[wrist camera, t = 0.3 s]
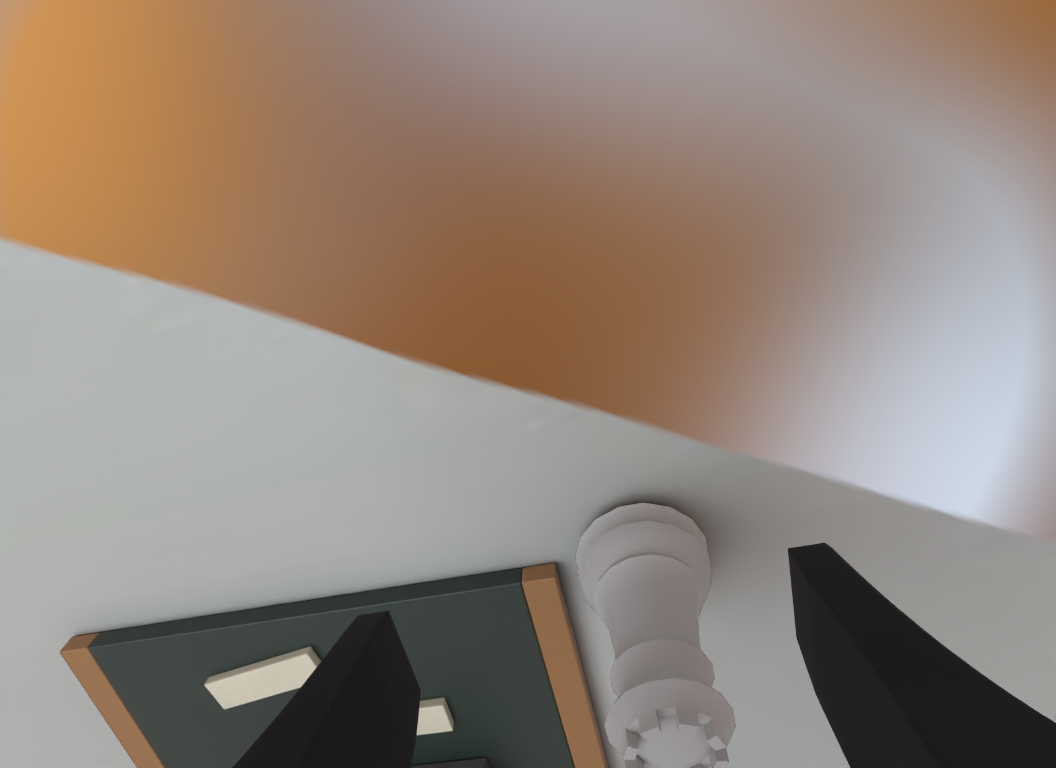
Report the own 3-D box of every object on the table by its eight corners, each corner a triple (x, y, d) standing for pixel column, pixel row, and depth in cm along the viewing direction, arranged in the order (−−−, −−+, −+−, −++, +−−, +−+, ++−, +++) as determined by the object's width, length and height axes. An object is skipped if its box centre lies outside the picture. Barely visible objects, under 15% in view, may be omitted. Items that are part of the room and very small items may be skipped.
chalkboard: (617, 801, 30) (619, 820, 29) (208, 845, 32) (200, 863, 31) (555, 562, 24) (555, 577, 24) (71, 636, 27) (58, 652, 26)
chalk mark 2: (444, 696, 26) (443, 705, 26) (454, 722, 27) (453, 731, 26) (332, 711, 27) (329, 720, 26) (344, 736, 27) (341, 745, 27)
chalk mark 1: (310, 645, 25) (307, 654, 25) (329, 671, 26) (326, 680, 26) (208, 676, 26) (203, 684, 26) (228, 701, 27) (223, 710, 26)
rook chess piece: (555, 576, 25) (554, 791, 17) (606, 476, 23) (628, 670, 16) (670, 613, 25) (716, 838, 18) (729, 519, 23) (806, 726, 16)
